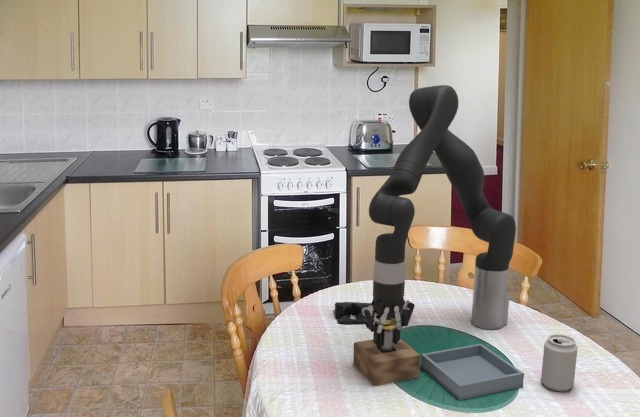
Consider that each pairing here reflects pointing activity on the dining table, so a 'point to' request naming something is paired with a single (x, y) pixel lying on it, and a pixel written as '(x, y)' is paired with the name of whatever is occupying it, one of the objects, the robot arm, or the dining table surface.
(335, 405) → the dining table surface
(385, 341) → the pin
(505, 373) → the tray
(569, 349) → the can
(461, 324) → the dining table surface
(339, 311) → the dark slate chunk
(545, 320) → the dining table surface
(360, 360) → the pin block
